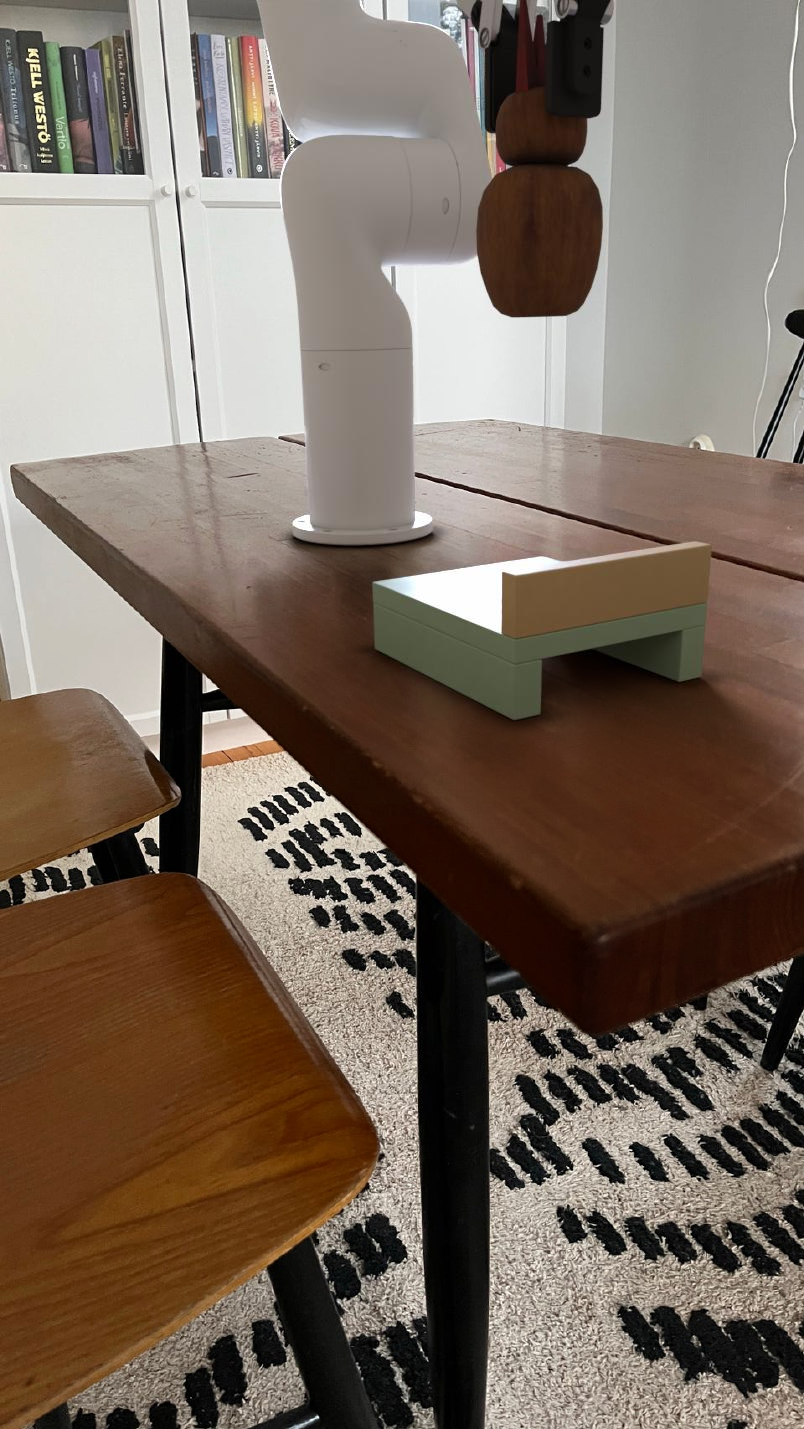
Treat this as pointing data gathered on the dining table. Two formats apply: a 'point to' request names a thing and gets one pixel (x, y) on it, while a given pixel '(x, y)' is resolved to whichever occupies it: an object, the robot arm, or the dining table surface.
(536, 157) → the wooden figurine
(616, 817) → the dining table surface
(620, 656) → the shelf
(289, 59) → the robot arm
